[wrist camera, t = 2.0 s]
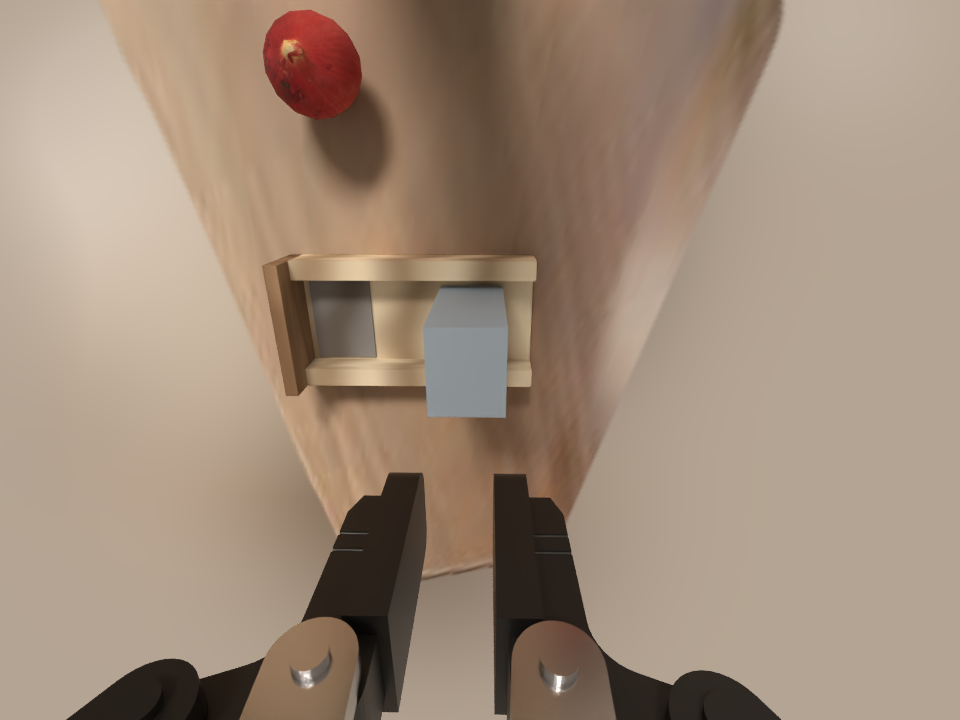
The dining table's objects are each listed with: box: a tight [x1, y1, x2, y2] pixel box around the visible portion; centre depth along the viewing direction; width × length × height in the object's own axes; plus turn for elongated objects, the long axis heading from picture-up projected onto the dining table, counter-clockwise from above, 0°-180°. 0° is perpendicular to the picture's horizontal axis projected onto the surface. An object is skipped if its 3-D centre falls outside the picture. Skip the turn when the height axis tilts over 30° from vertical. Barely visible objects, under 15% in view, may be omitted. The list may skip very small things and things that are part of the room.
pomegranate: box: [263, 10, 362, 120], centre depth 28 cm, size 6×6×8 cm
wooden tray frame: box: [262, 255, 537, 396], centre depth 36 cm, size 20×10×5 cm, turn 90°
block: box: [423, 285, 508, 418], centre depth 32 cm, size 5×6×11 cm
